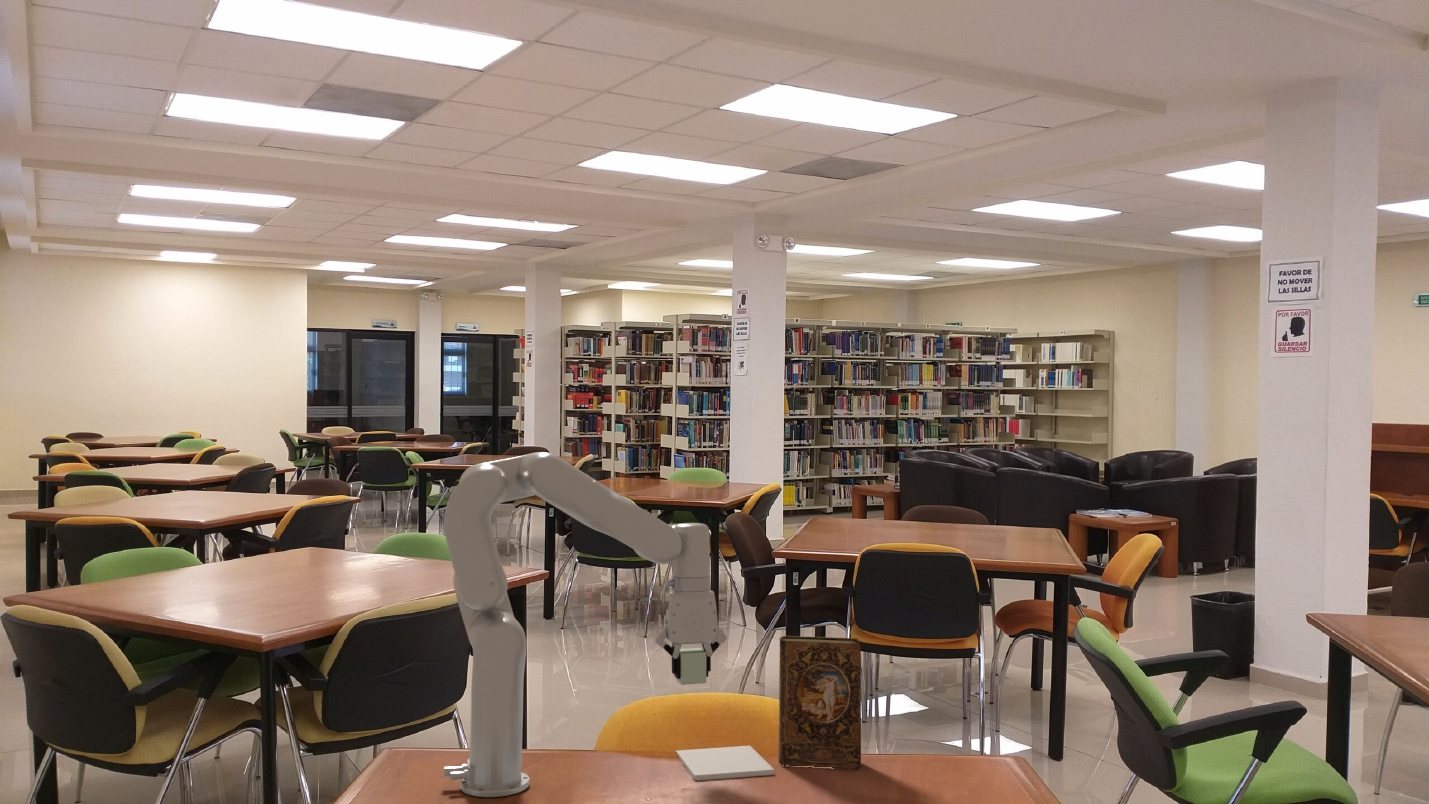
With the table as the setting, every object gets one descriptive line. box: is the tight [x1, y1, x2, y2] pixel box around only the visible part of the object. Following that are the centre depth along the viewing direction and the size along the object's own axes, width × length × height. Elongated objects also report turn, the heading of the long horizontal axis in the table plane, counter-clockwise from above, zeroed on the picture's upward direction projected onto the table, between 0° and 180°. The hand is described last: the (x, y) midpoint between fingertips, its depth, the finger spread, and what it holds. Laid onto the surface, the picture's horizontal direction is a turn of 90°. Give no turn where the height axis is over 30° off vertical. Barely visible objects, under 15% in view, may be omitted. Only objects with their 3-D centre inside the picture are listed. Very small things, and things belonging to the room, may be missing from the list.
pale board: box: [675, 745, 775, 781], centre depth 195 cm, size 16×16×1 cm
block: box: [675, 647, 707, 686], centre depth 194 cm, size 5×5×6 cm
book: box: [778, 635, 862, 771], centre depth 196 cm, size 16×6×25 cm, turn 84°
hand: (691, 675), depth 194 cm, fingers closed on block, 5 cm apart
